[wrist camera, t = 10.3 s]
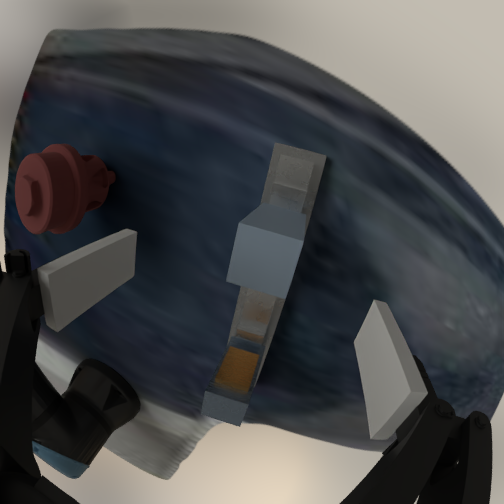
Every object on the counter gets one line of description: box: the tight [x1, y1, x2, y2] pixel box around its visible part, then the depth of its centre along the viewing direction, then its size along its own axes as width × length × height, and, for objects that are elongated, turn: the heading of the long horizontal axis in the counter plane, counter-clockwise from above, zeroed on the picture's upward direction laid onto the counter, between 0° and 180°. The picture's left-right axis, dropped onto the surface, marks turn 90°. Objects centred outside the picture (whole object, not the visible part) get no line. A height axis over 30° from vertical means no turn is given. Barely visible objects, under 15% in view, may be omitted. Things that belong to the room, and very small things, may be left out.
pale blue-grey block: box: [226, 203, 306, 299], centre depth 21 cm, size 5×4×9 cm
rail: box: [201, 143, 326, 426], centre depth 25 cm, size 30×5×12 cm, turn 167°
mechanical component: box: [15, 144, 116, 234], centre depth 25 cm, size 12×10×10 cm
